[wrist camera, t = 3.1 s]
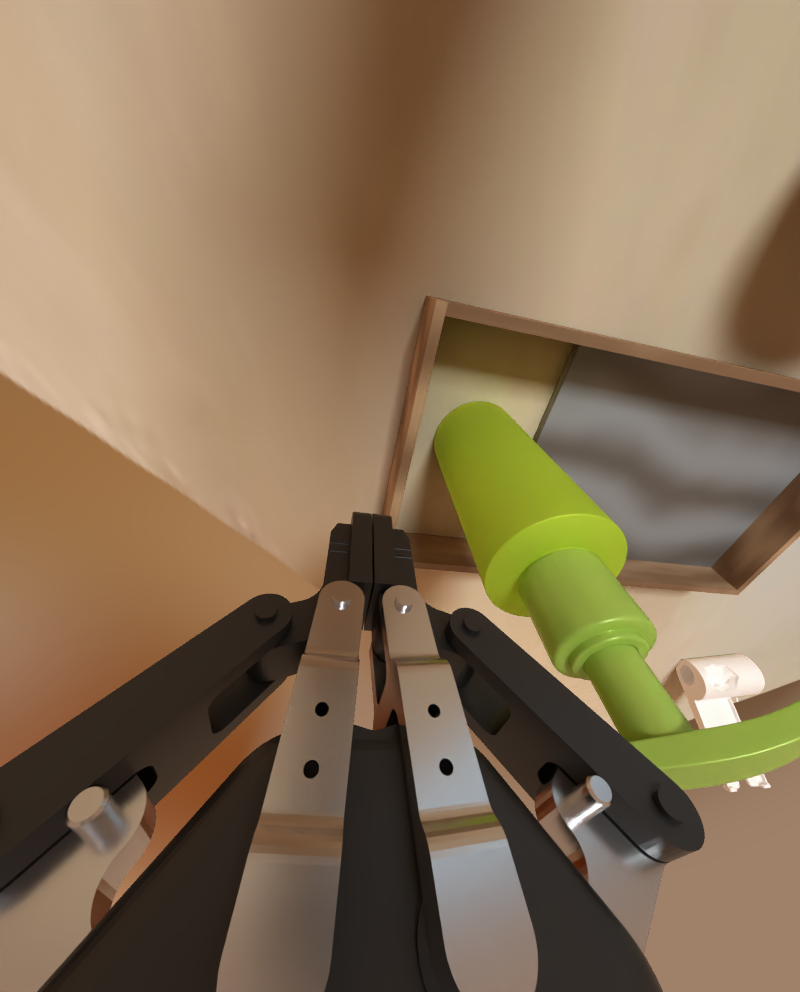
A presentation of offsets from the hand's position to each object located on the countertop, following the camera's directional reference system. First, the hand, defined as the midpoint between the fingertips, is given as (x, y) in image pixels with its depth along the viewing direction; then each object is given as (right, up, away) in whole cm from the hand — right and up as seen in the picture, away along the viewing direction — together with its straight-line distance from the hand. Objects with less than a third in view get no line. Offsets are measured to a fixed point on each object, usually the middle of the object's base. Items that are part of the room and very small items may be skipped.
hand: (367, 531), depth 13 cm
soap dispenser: (+7, +6, +12) cm, 15 cm away
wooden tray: (+18, +3, +14) cm, 23 cm away
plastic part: (+42, -23, +34) cm, 58 cm away
